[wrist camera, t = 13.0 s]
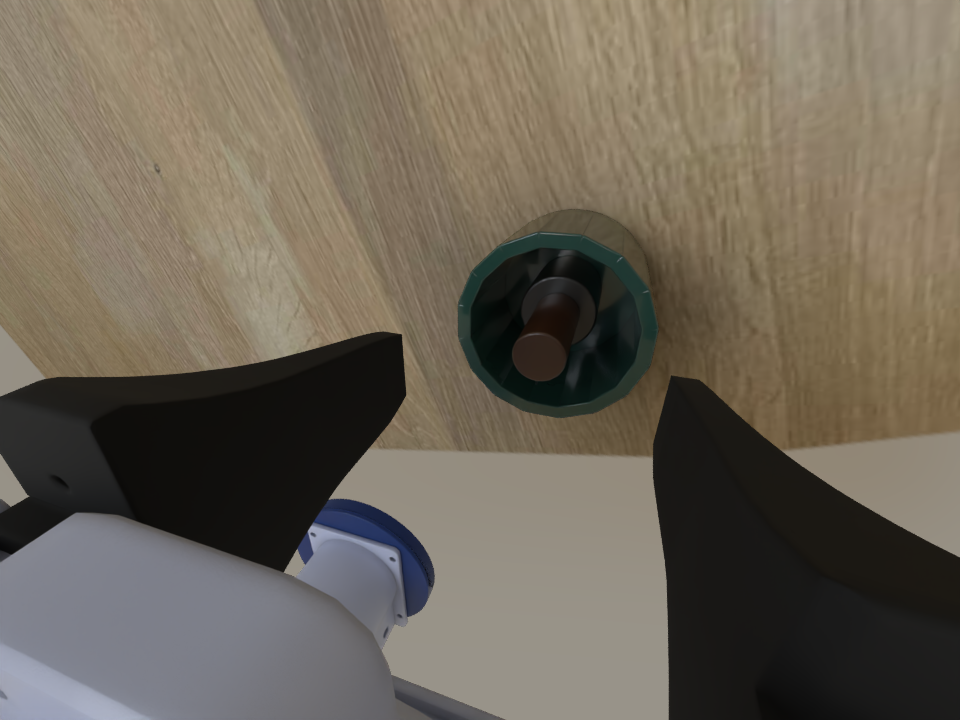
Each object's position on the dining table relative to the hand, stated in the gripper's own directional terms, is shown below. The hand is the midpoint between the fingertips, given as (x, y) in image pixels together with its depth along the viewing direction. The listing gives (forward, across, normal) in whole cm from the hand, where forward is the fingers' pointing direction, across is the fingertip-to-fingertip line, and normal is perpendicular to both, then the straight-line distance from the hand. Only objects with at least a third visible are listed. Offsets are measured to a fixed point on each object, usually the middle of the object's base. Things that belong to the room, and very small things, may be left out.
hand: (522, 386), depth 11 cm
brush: (+8, 0, 0) cm, 8 cm away
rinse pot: (+9, 0, 0) cm, 9 cm away
